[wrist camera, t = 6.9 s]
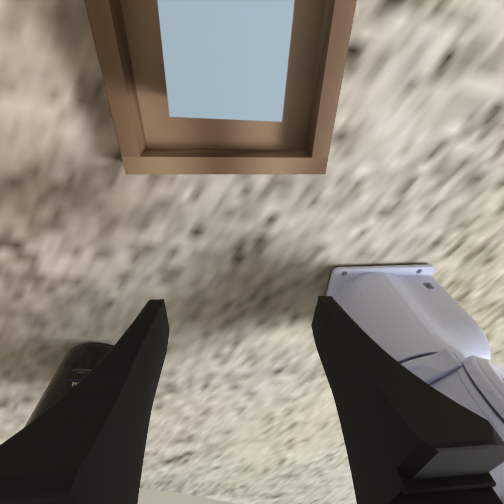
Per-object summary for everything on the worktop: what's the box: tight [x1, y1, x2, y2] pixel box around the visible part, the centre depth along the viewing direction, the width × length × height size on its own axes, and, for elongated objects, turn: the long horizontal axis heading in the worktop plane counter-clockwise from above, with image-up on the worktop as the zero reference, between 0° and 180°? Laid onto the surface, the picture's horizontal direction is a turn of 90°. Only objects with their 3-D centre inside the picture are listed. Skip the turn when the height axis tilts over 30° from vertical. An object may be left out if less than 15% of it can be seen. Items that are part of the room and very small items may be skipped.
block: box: [157, 0, 295, 122], centre depth 12 cm, size 4×4×6 cm
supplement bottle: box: [24, 343, 113, 428], centre depth 24 cm, size 7×7×12 cm
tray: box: [85, 0, 357, 174], centre depth 14 cm, size 12×12×2 cm
